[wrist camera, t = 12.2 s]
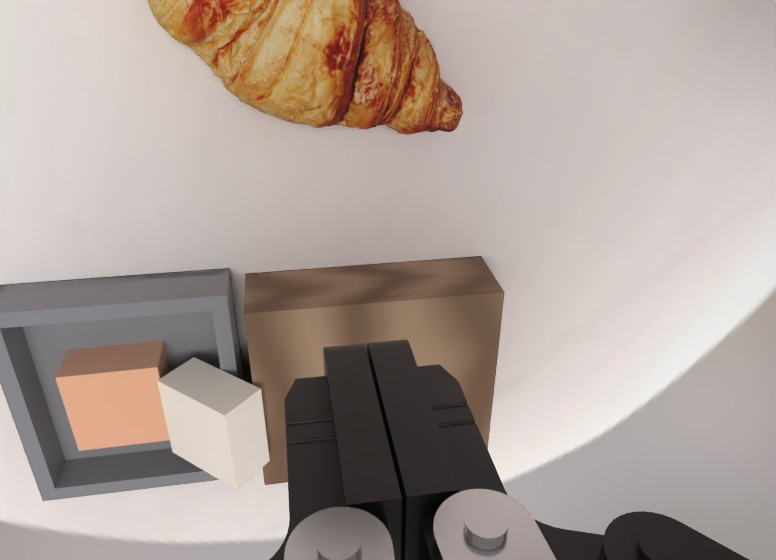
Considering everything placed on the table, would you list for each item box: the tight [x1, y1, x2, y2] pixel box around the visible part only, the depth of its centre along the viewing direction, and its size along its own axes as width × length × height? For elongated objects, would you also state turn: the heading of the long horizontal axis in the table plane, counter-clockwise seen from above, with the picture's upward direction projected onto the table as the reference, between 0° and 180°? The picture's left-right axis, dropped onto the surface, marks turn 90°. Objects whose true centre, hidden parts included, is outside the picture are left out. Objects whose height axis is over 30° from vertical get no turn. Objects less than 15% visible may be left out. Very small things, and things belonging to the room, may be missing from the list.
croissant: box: [148, 0, 463, 134], centre depth 33 cm, size 21×10×8 cm
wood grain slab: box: [244, 256, 504, 485], centre depth 45 cm, size 16×14×5 cm
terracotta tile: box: [55, 340, 170, 451], centre depth 42 cm, size 6×6×3 cm
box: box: [0, 268, 244, 501], centre depth 43 cm, size 14×15×4 cm
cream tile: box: [157, 357, 270, 490], centre depth 42 cm, size 6×6×3 cm
